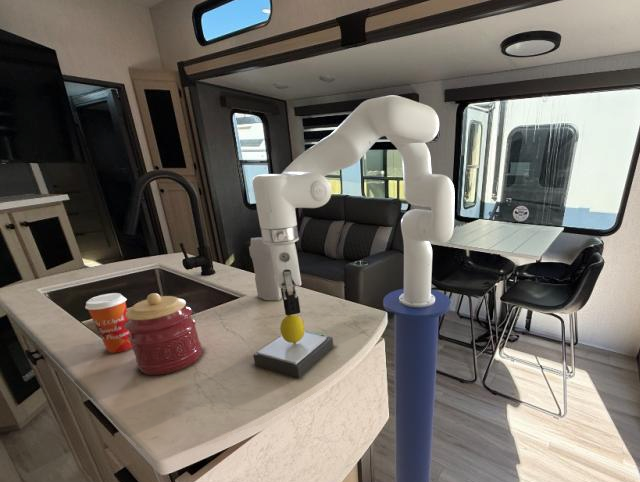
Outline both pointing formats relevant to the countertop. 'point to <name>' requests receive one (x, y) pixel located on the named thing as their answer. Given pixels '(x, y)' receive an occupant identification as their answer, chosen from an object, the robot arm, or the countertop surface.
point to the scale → (294, 354)
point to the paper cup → (110, 320)
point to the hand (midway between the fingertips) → (290, 305)
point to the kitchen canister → (162, 334)
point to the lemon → (292, 328)
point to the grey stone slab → (264, 270)
